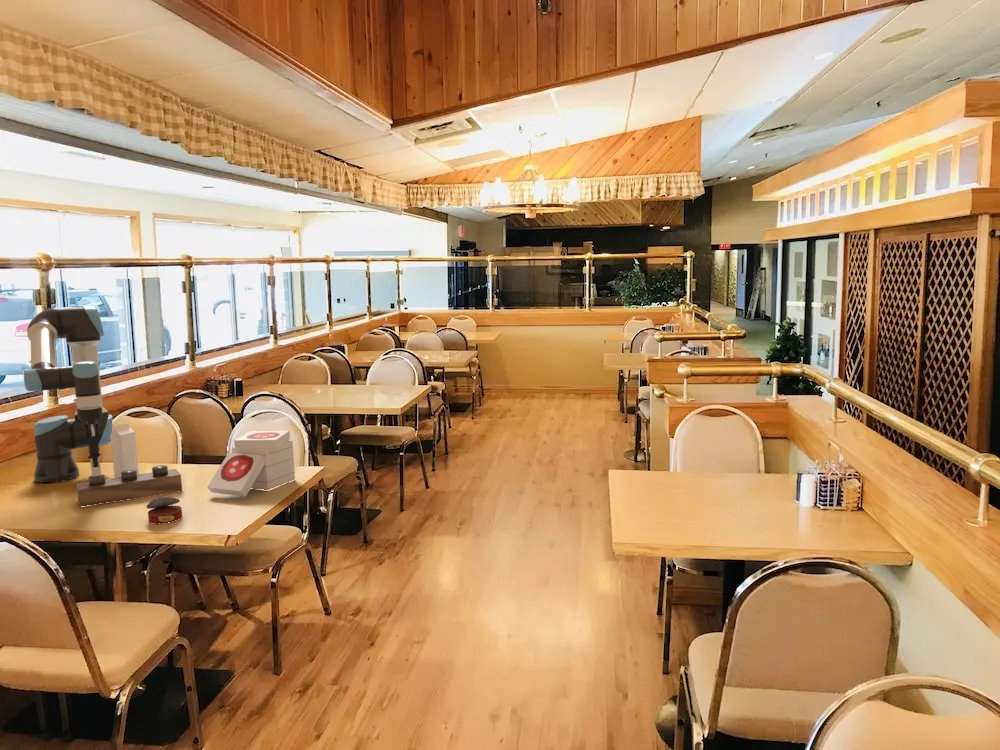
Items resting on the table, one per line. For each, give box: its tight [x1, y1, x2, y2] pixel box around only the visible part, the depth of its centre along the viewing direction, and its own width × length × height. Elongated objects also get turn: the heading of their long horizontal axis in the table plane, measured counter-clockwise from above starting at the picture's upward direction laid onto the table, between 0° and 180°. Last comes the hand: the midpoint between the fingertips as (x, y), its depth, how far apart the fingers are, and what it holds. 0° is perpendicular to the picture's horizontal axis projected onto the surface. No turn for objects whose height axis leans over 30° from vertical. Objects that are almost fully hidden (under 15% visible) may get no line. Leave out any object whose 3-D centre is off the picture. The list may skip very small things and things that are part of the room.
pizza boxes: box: [206, 430, 296, 497], centre depth 279 cm, size 19×30×18 cm, turn 156°
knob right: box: [151, 464, 169, 476], centre depth 279 cm, size 5×5×7 cm
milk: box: [110, 422, 140, 478], centre depth 291 cm, size 6×6×22 cm
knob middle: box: [121, 470, 137, 481], centre depth 274 cm, size 5×5×7 cm
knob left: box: [88, 473, 106, 486], centre depth 269 cm, size 5×5×7 cm
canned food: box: [145, 496, 183, 525], centre depth 248 cm, size 11×10×10 cm
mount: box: [76, 468, 183, 508], centre depth 274 cm, size 10×32×6 cm, turn 121°
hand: (96, 475), depth 268 cm, fingers closed
